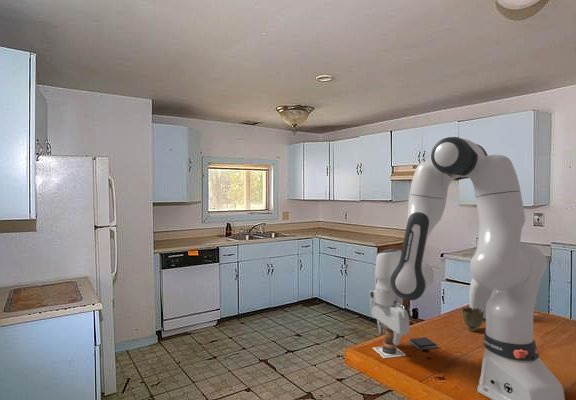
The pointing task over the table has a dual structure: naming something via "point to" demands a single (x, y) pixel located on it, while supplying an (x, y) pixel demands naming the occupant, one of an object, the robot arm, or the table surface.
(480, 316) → the cup
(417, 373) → the table surface
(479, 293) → the soap bottle
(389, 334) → the stamp
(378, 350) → the white flat square plate
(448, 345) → the table surface
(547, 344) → the table surface
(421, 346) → the ink pad
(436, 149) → the robot arm
